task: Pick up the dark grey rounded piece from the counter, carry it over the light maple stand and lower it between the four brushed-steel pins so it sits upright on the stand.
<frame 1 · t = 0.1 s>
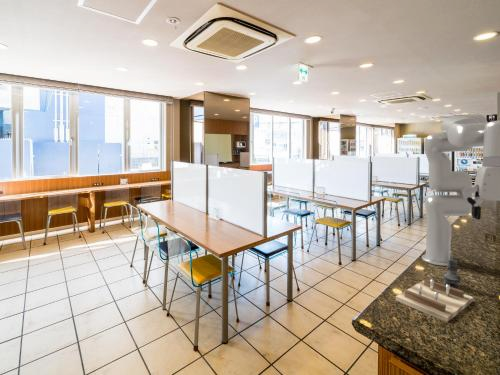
hand: (495, 219, 82), 31 cm above the countertop, tool pointing down, fingers open, 9 cm apart
pin stand: (433, 300, 95), on the countertop
dark grey rounded piece: (451, 286, 105), on the countertop
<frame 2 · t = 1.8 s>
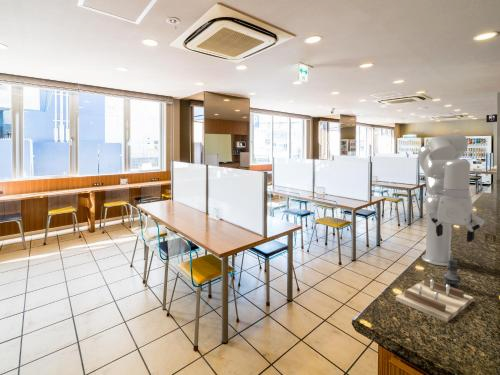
hand: (454, 238, 102), 19 cm above the countertop, tool pointing down, fingers open, 9 cm apart
nothing on the countertop moved.
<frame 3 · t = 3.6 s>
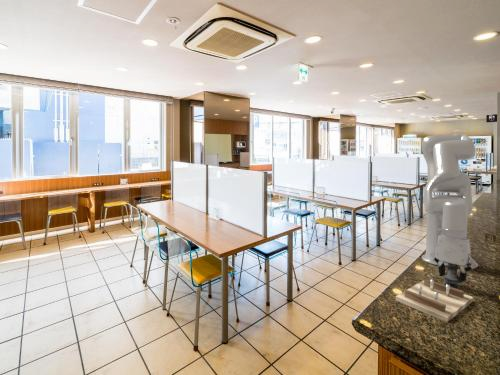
hand: (451, 277, 105), 3 cm above the countertop, tool pointing down, fingers closed on dark grey rounded piece, 5 cm apart
dark grey rounded piece: (451, 286, 105), on the countertop, touching gripper
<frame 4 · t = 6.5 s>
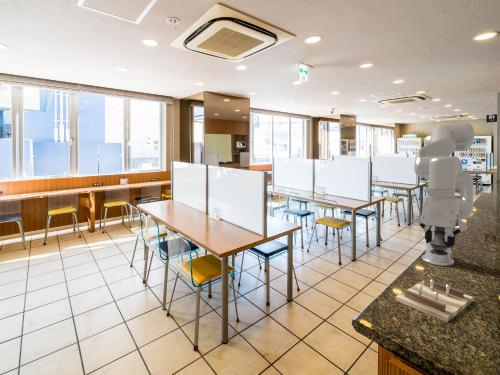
hand: (439, 244, 94), 20 cm above the countertop, tool pointing down, fingers closed on dark grey rounded piece, 5 cm apart
dark grey rounded piece: (438, 253, 94), point 17 cm above the countertop, touching gripper
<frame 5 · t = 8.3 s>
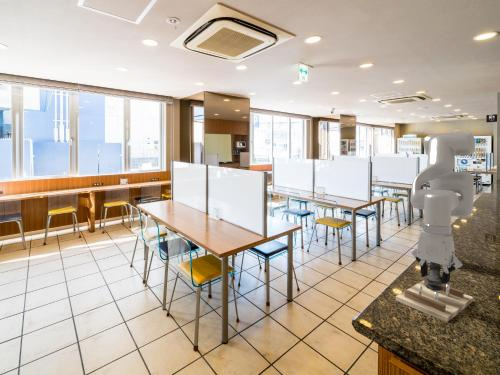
hand: (434, 278, 94), 8 cm above the countertop, tool pointing down, fingers closed on dark grey rounded piece, 5 cm apart
dark grey rounded piece: (434, 287, 95), point 5 cm above the countertop, touching gripper
when the fingers open (6 cm above the countertop, at t = 9.5 s): dark grey rounded piece drops 1 cm, resting on pin stand.
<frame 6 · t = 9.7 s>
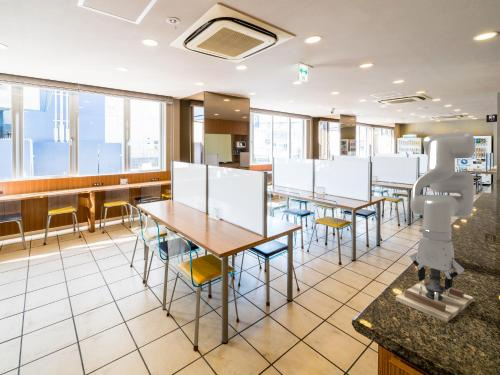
hand: (434, 283, 94), 6 cm above the countertop, tool pointing down, fingers open, 7 cm apart
dark grey rounded piece: (434, 296, 95), point 1 cm above the countertop, touching pin stand
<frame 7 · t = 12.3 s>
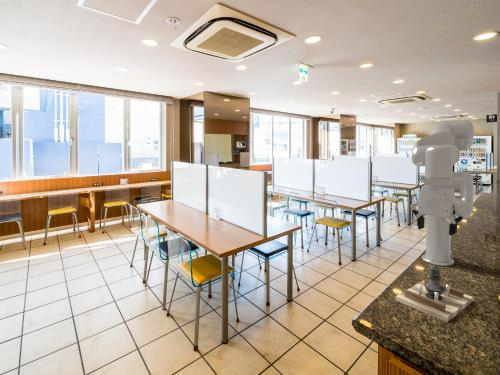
hand: (435, 231, 94), 25 cm above the countertop, tool pointing down, fingers open, 9 cm apart
nothing on the countertop moved.
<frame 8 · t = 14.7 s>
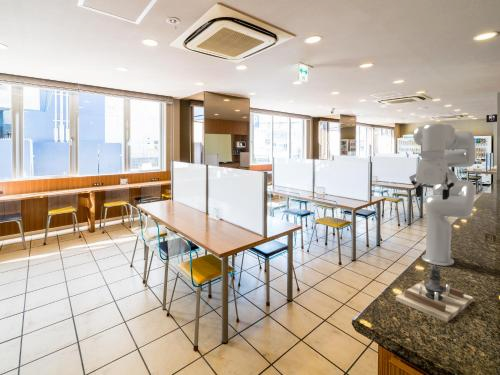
hand: (431, 197, 110), 33 cm above the countertop, tool pointing down, fingers open, 9 cm apart
nothing on the countertop moved.
at the end: dark grey rounded piece 0.2 cm off-centre on the pin stand, point 1.3 cm above the pin stand's base; dark grey rounded piece tilted 0°; the gripper is holding nothing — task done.
